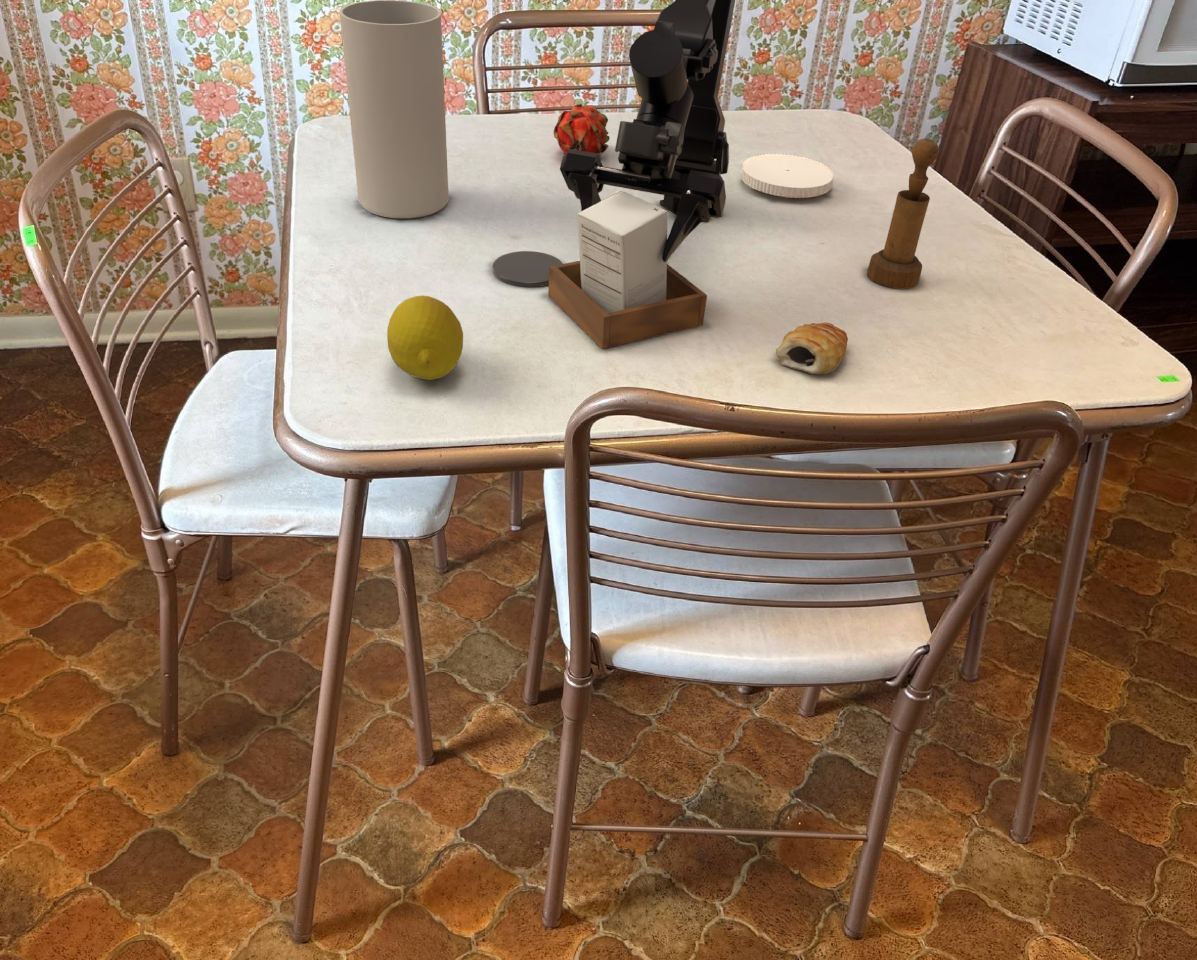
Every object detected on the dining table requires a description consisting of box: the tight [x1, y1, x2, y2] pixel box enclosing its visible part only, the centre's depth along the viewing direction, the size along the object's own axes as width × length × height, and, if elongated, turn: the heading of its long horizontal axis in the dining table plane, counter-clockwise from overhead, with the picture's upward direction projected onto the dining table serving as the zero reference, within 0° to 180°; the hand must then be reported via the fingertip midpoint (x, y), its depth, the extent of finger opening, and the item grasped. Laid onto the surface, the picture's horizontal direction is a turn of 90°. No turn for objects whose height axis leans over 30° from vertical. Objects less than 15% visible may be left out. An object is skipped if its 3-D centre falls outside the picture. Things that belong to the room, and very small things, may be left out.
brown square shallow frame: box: [547, 260, 708, 350], centre depth 117 cm, size 14×14×4 cm
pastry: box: [775, 322, 849, 375], centre depth 111 cm, size 9×7×4 cm
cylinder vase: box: [339, 0, 450, 220], centre depth 132 cm, size 12×12×25 cm
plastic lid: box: [740, 153, 835, 199], centre depth 152 cm, size 14×14×2 cm
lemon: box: [386, 295, 464, 381], centre depth 103 cm, size 11×8×8 cm
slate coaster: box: [492, 250, 564, 288], centre depth 125 cm, size 9×9×1 cm
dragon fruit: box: [553, 103, 611, 156], centre depth 155 cm, size 8×8×12 cm
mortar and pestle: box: [866, 137, 939, 289], centre depth 123 cm, size 7×6×18 cm
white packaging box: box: [576, 190, 668, 313], centre depth 113 cm, size 7×7×13 cm
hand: (624, 252), depth 112 cm, fingers open, 9 cm apart
